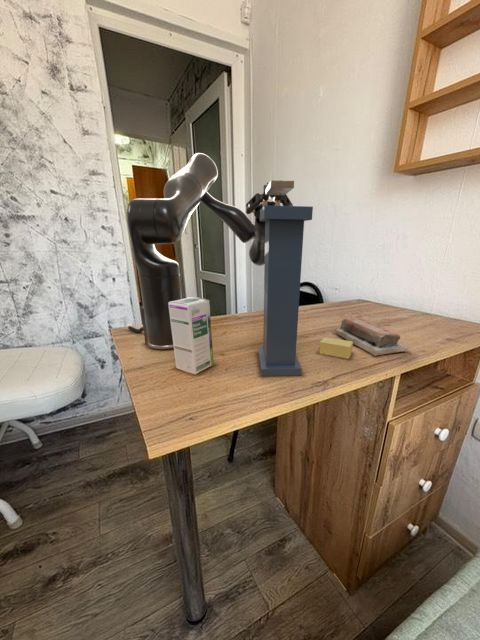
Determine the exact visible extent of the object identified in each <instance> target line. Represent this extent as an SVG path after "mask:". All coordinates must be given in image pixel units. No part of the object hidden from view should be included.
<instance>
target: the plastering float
mask: <svg viewBox="0 0 480 640" xmlns="http://www.w3.org/2000/svg"><path fill="white" fill-rule="evenodd" d="M334 333H335V334H336V335H338V336H340V337H341V338H343V339H344V340H346V341H352V342H353V346H354V345H355V346H357V347H359V349H360V348H361V349H362V350H364V351H366V352H367V353H368V354H371V355H372V356H374V357H376V356H382V355H387V354H393V353H400V352H405V353H406V352H408V350H409V346H406V345H403V344H401V343H399V341H400V339H401V336H400V335H399V334H398V333H396V332H393V331H391V330H389V329H387V328H385V327H382V326H380V325H378V324H375V323H374V322H371V321H369V320H366V319H365V318H362V317H358V316H355V317H345V318H343V319H342V320H341V324H340V328H338V327H336V328H335V329H334Z"/></svg>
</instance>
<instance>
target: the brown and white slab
mask: <svg viewBox="0 0 480 640" xmlns="http://www.w3.org/2000/svg"><path fill="white" fill-rule="evenodd" d="M268 183H269V184H268V186H267V187H266V189H265V195H269V199H268V200H273V199H274V197H275V196H276V195H285V194H286V195H288V193H289V192H291V191H292V190H293V189H294V188H295V180H284V179H283V180H281V179H280V180H279V179H270V181H269V182H268Z"/></svg>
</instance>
